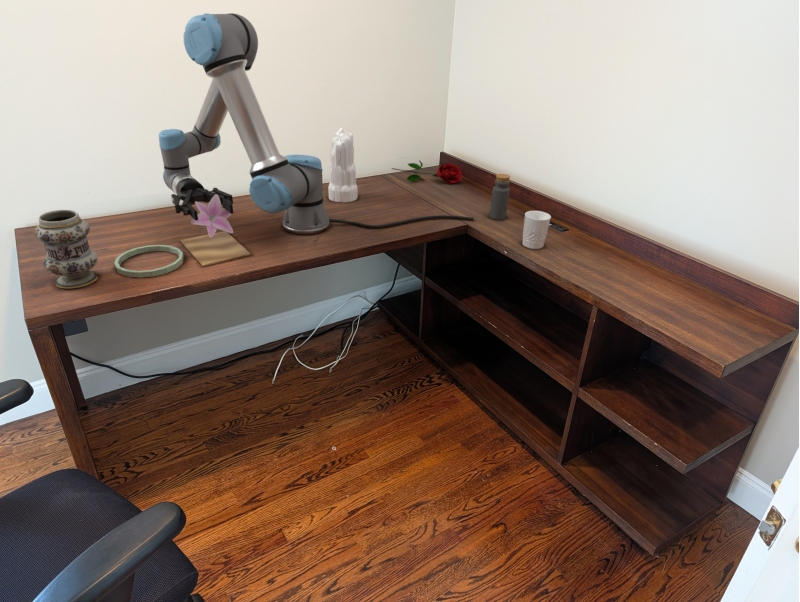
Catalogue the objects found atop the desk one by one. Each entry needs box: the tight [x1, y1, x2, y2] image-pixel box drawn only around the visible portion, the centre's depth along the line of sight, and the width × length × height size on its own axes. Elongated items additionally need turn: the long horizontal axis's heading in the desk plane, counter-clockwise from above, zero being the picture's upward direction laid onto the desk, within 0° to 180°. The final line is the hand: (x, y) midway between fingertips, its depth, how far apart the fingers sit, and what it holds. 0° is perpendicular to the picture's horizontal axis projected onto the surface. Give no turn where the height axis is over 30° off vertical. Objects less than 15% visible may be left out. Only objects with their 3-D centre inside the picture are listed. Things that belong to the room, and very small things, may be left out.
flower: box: [391, 160, 463, 185], centre depth 220 cm, size 9×10×30 cm
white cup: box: [521, 210, 552, 250], centre depth 167 cm, size 8×8×10 cm
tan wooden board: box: [180, 230, 252, 267], centre depth 158 cm, size 20×14×1 cm
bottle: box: [489, 173, 511, 221], centre depth 185 cm, size 6×6×15 cm
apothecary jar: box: [34, 209, 99, 290], centre depth 134 cm, size 12×12×18 cm
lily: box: [190, 194, 234, 238], centre depth 155 cm, size 12×12×10 cm
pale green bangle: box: [113, 244, 185, 279], centre depth 148 cm, size 17×17×2 cm
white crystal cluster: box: [327, 127, 359, 204], centre depth 195 cm, size 11×11×25 cm
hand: (214, 212), depth 149 cm, fingers closed on lily, 9 cm apart
